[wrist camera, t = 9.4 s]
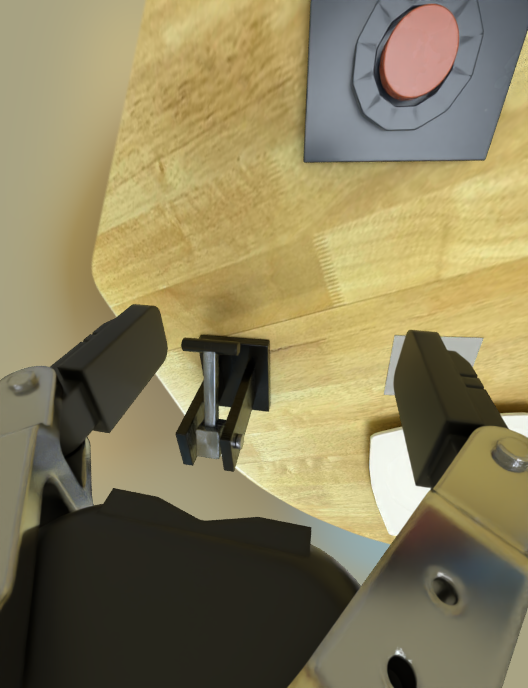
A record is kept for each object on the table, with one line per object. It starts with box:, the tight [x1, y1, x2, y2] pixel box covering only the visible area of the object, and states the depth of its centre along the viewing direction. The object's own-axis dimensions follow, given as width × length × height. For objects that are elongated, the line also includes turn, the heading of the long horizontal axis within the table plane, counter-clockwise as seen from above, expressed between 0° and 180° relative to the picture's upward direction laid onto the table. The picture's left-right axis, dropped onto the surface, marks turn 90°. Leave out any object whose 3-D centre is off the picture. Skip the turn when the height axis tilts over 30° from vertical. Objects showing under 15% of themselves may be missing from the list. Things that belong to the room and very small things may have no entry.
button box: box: [304, 0, 528, 163], centre depth 19 cm, size 12×10×4 cm
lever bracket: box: [176, 335, 270, 472], centre depth 33 cm, size 10×8×12 cm
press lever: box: [181, 338, 240, 459], centre depth 28 cm, size 11×5×2 cm, turn 1°
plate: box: [369, 412, 528, 535], centre depth 39 cm, size 24×24×3 cm
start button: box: [379, 4, 459, 101], centre depth 17 cm, size 4×4×2 cm
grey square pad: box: [384, 335, 483, 395], centre depth 32 cm, size 8×8×2 cm
